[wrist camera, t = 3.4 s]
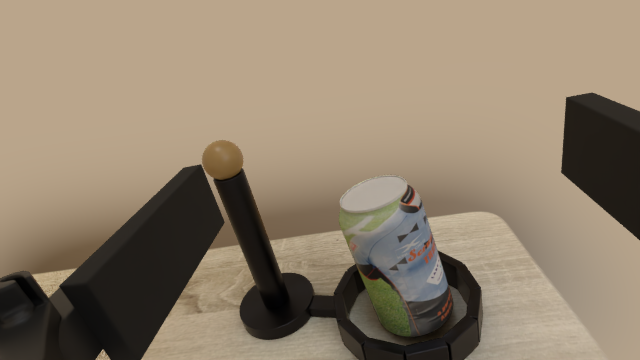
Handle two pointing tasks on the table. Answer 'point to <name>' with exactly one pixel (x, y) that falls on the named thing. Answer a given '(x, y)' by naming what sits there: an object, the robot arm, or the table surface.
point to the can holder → (297, 292)
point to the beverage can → (396, 255)
